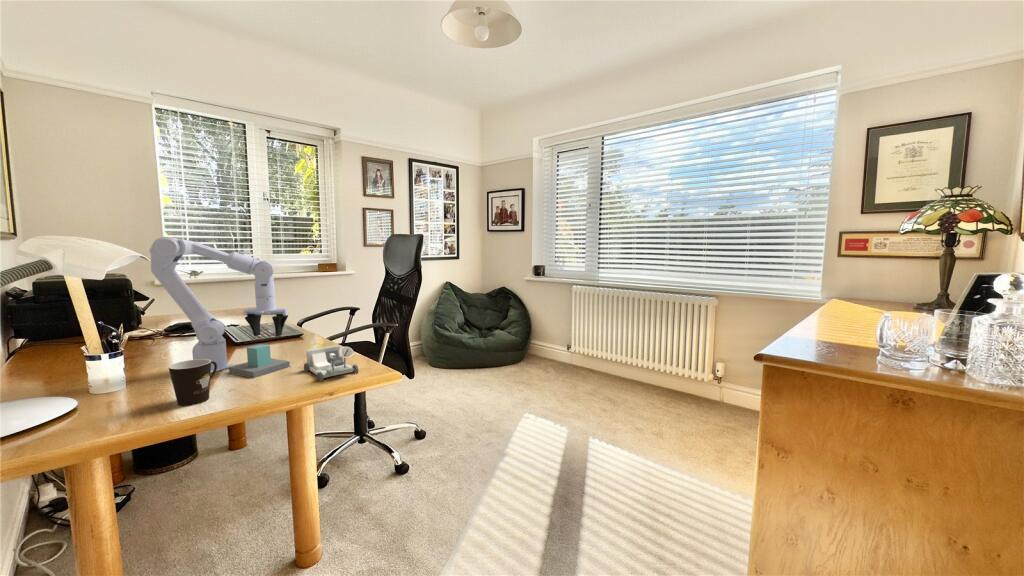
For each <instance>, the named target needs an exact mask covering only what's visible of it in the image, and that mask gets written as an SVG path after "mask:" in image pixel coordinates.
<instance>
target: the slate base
mask: <svg viewBox="0 0 1024 576" xmlns="http://www.w3.org/2000/svg"><path fill="white" fill-rule="evenodd" d="M288 367H289V368H291V364H290V361H289V360H285V359H284V360H283V359H278V358H272V357H271V363H270V364H267V365H264V366H260V367H253V366H248V361H247V362H243V363H240V364H236V365H234V366H231V367H229V368H228V369H229V374H232V373H233V375H237V374H239V375H238V376H241V375H243V376H242V377H246V376H247V377H246V378H252V379H255V378H259V377H262V376H266V375H269V374H272V373H276V372H279V371H282V370H285V368H286V369H289V368H288Z"/></svg>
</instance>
